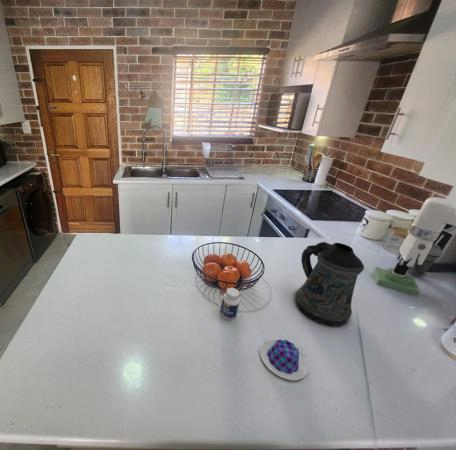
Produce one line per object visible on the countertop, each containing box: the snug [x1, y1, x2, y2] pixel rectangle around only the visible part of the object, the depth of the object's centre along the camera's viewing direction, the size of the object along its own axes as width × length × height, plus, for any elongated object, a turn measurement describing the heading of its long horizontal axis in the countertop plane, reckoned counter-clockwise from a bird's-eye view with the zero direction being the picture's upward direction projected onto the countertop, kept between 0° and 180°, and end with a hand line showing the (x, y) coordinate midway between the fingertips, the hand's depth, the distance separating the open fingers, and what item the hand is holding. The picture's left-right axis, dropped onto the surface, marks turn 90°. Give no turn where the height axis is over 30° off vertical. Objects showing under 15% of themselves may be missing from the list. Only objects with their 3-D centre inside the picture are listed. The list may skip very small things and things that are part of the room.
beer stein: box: [294, 241, 365, 327], centre depth 82 cm, size 16×19×25 cm
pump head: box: [392, 270, 406, 278], centre depth 97 cm, size 4×4×2 cm
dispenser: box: [371, 266, 421, 297], centre depth 98 cm, size 12×10×6 cm
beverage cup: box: [406, 234, 445, 279], centre depth 103 cm, size 7×7×20 cm
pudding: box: [259, 339, 308, 381], centre depth 68 cm, size 12×12×5 cm
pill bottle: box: [219, 287, 241, 321], centre depth 81 cm, size 5×5×10 cm
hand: (398, 272), depth 97 cm, fingers closed
